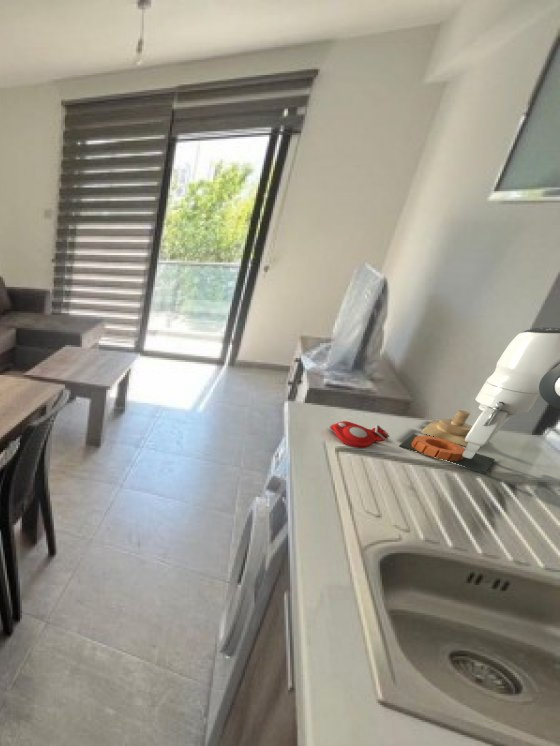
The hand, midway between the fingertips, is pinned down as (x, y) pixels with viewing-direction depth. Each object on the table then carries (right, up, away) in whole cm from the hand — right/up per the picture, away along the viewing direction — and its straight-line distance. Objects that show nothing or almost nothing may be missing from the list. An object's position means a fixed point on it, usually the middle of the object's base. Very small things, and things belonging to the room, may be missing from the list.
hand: (471, 451), depth 115 cm
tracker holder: (-21, +2, +8) cm, 23 cm away
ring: (-5, 0, +4) cm, 6 cm away
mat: (-2, 0, +4) cm, 5 cm away
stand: (+8, +4, +13) cm, 16 cm away
